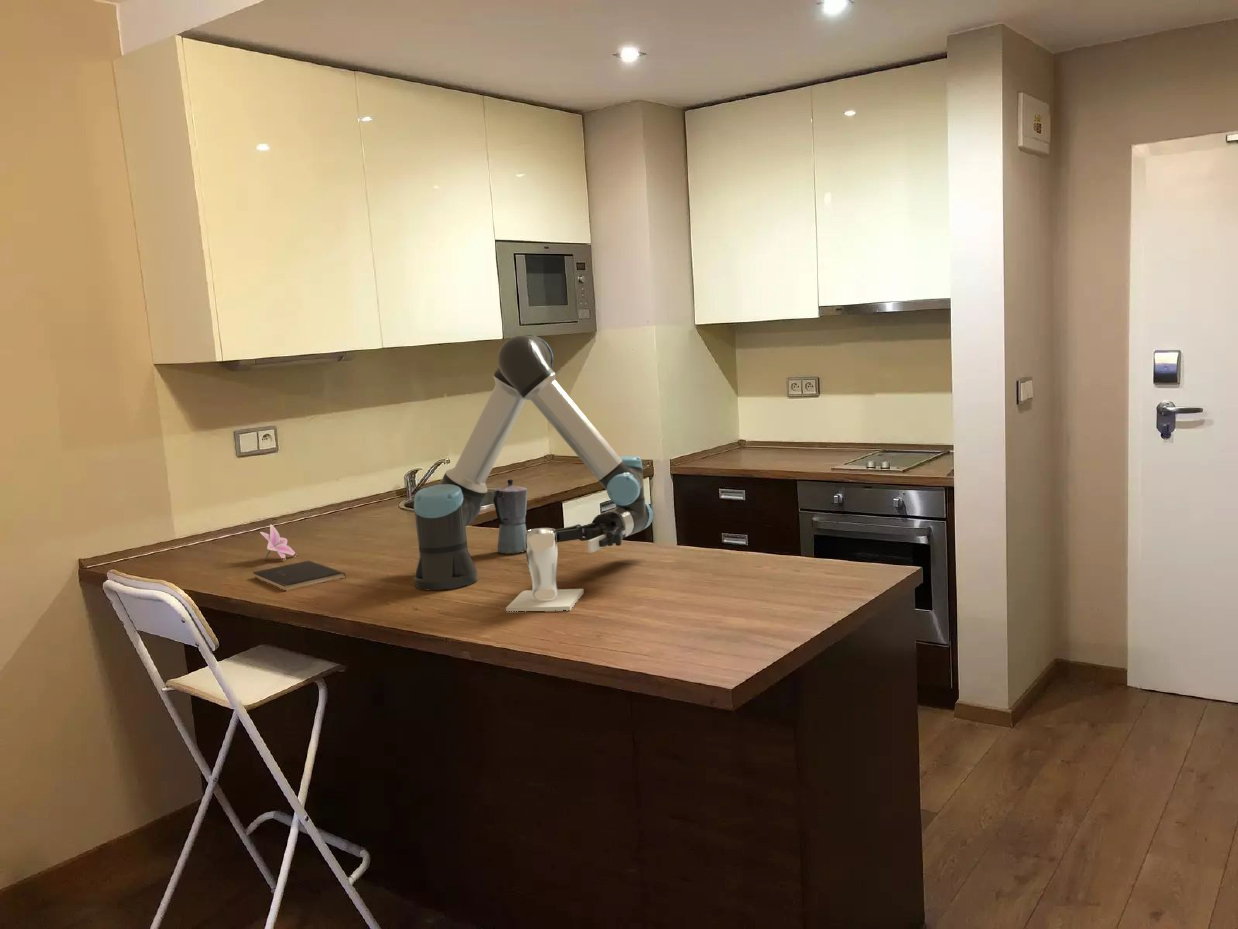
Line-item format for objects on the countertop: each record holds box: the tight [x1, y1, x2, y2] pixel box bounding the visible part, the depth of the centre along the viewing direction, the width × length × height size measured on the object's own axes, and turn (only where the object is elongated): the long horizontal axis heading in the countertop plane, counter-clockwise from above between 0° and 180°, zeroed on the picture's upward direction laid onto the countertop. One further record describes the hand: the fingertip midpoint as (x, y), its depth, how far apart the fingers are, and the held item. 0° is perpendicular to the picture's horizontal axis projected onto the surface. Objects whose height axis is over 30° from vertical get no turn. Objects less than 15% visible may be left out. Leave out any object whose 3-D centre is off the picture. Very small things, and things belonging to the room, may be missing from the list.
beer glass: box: [525, 527, 559, 602], centre depth 214 cm, size 7×7×15 cm
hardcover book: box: [252, 560, 346, 589], centre depth 257 cm, size 16×23×2 cm
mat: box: [505, 588, 585, 613], centre depth 215 cm, size 14×14×1 cm
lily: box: [259, 523, 296, 559], centre depth 283 cm, size 12×12×10 cm
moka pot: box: [493, 479, 528, 555], centre depth 269 cm, size 10×15×20 cm, turn 161°
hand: (564, 545), depth 221 cm, fingers open, 13 cm apart
